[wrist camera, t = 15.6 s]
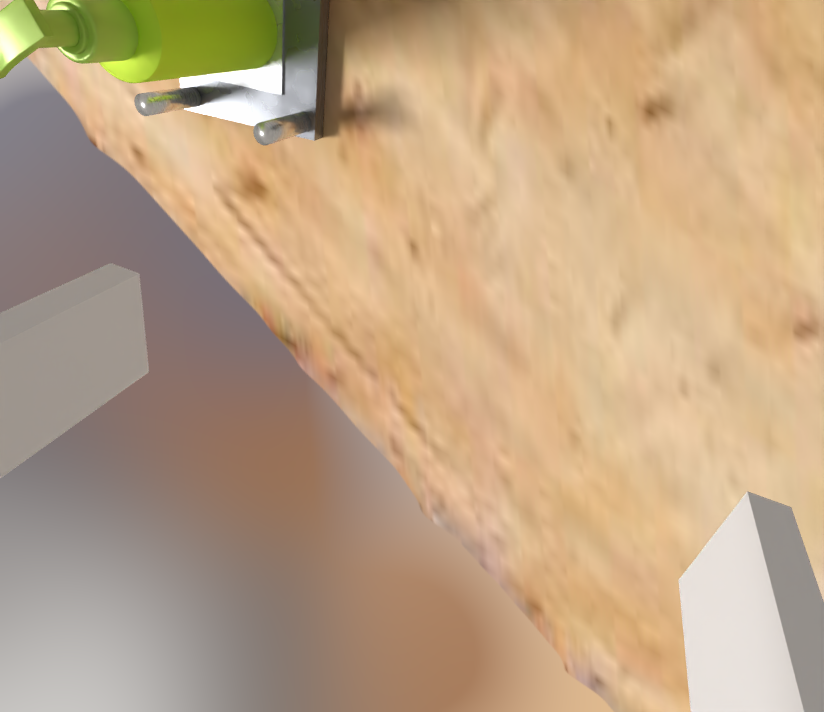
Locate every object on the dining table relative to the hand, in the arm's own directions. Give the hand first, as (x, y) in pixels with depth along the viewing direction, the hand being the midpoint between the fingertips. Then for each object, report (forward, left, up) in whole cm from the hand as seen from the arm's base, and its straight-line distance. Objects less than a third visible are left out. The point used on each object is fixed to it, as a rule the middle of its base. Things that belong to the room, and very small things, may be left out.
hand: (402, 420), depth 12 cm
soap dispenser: (-3, -27, -35) cm, 44 cm away
